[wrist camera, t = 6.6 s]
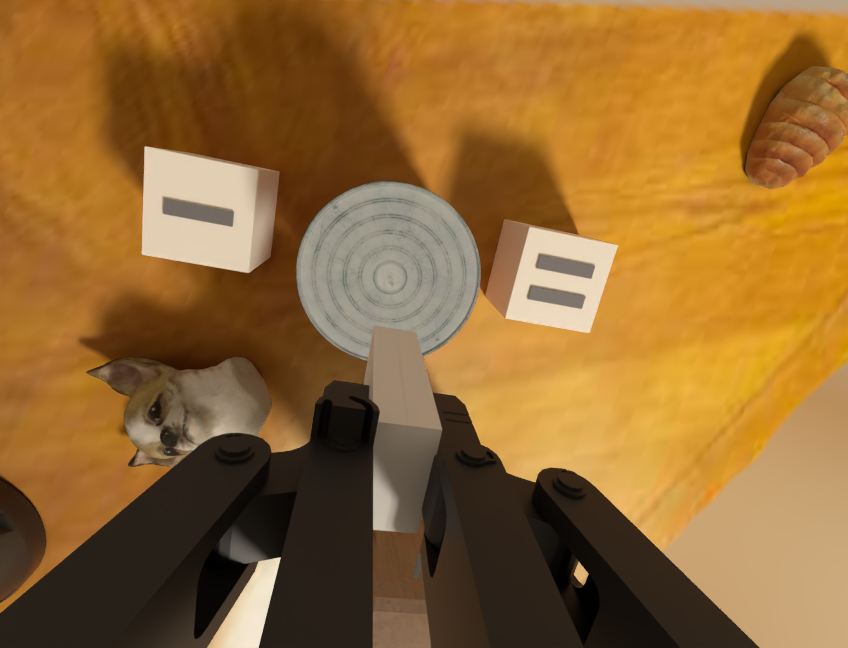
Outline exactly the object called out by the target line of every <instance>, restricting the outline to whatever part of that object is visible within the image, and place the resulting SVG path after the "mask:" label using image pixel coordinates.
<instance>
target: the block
mask: <svg viewBox="0 0 848 648" xmlns="http://www.w3.org/2000/svg"><path fill="white" fill-rule="evenodd" d="M423 533H424V523H423V515H422V518H421V522H420V526H419V530H418V534H415V533H404V532H393V531H382V530H373V648H431V642H430V633H429V625H428V616H427V607H426V599H425V590H424V582H423V573H422V569H421V570H420V574H419V578H418V579H413V577H414V570H415V566H416V562H417V558H418V554H419V549H420V545H421V541H422V537H423Z"/></svg>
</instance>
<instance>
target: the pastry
mask: <svg viewBox="0 0 848 648" xmlns="http://www.w3.org/2000/svg"><path fill="white" fill-rule="evenodd" d="M845 135H848V74H846V73H845V72H844V71H842V70H839V69H835V68H830V67H820V66H812V67H810V68H808V69H806V70H804V71H803V72H801V73H800V74H799V75H797V76H796V77H795V78H794V79H792V80H791V81H790V82H789V83H787V84H786V85H785V86H784V87H783V88H782V89H781V90H780V92H779V93H778V94H777V96H776V97H775V98H774V99H773V100H772V101H771V103H770V105H769V107H768V109H767V111H766V112H765V114H764V117H763V119H762V121H761V122H760V124H759V127H758V129H757V132H756V134H755V136H754V138H753V140H752V142H751V145H750V147H749V150H748V153H747V161H746V165H745V171H746V174H747V177H748V178H749V179H750V180H752V182H754V183H755V184H757V185H760V186H763V187H766V188H768V189H775V188H779V187H784V186H786V185H787V184H789V183H790V182H791V181H793V180H795V179H797V178H799V177H802V176H804V175H805V174H806V173H807V171H808V170H809V169H810V168H812V167H814V166H816V165H818V164H820V163H822V162H823V161H824V159H825V157H826V156H827V155H829V154H831V153H832V152H834V150H835V149H836V148H837V147H838V146H840V145H841V144H842V143H843V139H844V138H843V136H845Z"/></svg>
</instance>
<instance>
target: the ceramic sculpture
mask: <svg viewBox="0 0 848 648" xmlns="http://www.w3.org/2000/svg"><path fill="white" fill-rule="evenodd" d="M86 373H88V374H89V375H91V376H94V377H97V378H99V379H101V380H103V381H104V382H106V383H107V384H108V385H110V386H111V387H112V389H114V390H115V391H116V392H118V393H120V394H123V395H126V396H129V397H133V398H132V399H131V401H130V402H129V404H128V405H127V407H126V410H125V412H124V424H125V428H126V431H127V433H128V435H129V438H130V440H131V441H132V443H133V444H134V445H135V446H136V447H137V448H138V449H137V452H136V454H135V456H134V457H133V458H132V459H131V460H130V462H129V463H128V467H135V466H140V465H144V464H155V465H161V466H164V465H166V466H167V467H170V466H171V467H174V466H175V465H177V464H178V463H179V462H180V461H181V460H183V459H184V458H185V457H186V456H187V455H188V454H190V453H191V452H192V451H193V450H194V449H196V448H197V447H198V446H199V445H200V444H201V443H203V442H205V441H206V440H208V439H210V438H212V437H214V436H218V435H222V434H226V433H245V434H252V435H254V436H257V437H258V434H259V432H260V431H261V429H262V427H263V425H264V423H265V421H266V418H267V416H268V414H269V412H270V409H271V406H272V399H271V397H270V395H269V390H268V387H267V385H266V383H265V381H264V379H263V378H262V376H261V375H260V374H259V372H258V371H257V369H256V368H255V367H254V365H253V364H252V363H251V362H250V361H249V360H247V359H246V358H243V357H233V358H229V359H226V360H225V361H223V362H221V363H220V364H219V365H217V366H213V367H209V368H206V369H200V370H194V369H186V370H182V371H181V370H177V369H174V368H173V367H171V366H169V365H167V364H164V363H161V362H159V361H156V360H153V359H147V358H145V357H126V358H121V359H117V360H113V361H111V362H107V363H106V364H105V365H103V366H100V367H97V368H94V369H92V370H89V371H87V372H86Z"/></svg>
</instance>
